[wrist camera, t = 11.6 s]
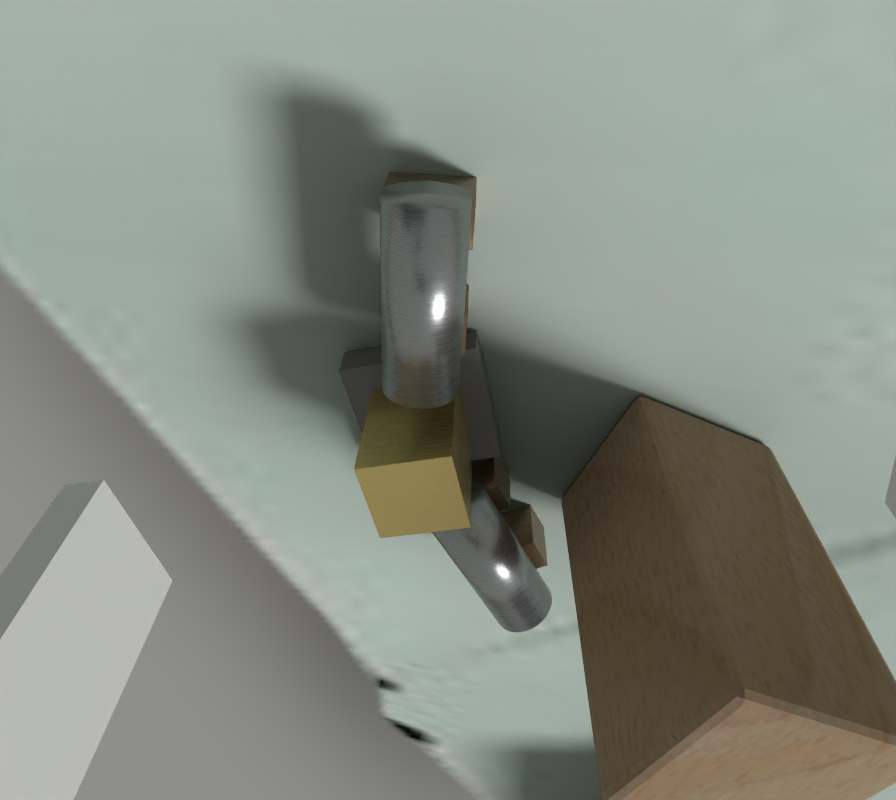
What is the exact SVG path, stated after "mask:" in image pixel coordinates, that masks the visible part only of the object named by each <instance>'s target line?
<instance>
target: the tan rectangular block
mask: <svg viewBox="0 0 896 800" xmlns="http://www.w3.org/2000/svg"><path fill="white" fill-rule="evenodd" d="M354 470H355V473H356V476H357V478H358V481H359V484H360V486H361V489H362V491H363V494H364V497H365V499H366V502H367V505H368V507H369V510H370V513H371V515H372V518H373V521H374V523H375V526H376V529H377V531H378V534H379V536H380V538H385V537H393V536H402V535H410V534H419V533H428V532H436V531H445V530H453V529H462V528H471V484H472V441H471V437H470V433H469V428H468V424H467V420H466V416H465V412H464V408H463V403H462V399H461V395H460V391H459V392H458V394H457V396H456V397H455V398H454V399H453V400H452V401H450V402H449V403H447V404H445V405H442V406H439V407H435V408H429V409H415V408H408V407H404V406H401V405H398V404H396V403H394V402H392V401H391V400H390V399H388V398H387V397H386V396H385V394H384V393H383V390H382V389H377V390H372V395H371V399H370V403H369V408H368V412H367V416H366V420H365V425H364V429H363V433H362V438H361V442H360V446H359V451H358V455H357V459H356V464H355V468H354Z"/></svg>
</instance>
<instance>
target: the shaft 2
mask: <svg viewBox="0 0 896 800" xmlns="http://www.w3.org/2000/svg"><path fill="white" fill-rule="evenodd" d="M508 507H511V503H510V482H509V469H508V467H507V466H506V464H505V462H504V461H503V459H502V457H501V456H500V457H494V458H487V459H480V460H473V461H472V484H471V528H462V529H453V530H445V531H436V532H432V533H433V534H434V536H435V537H436V538H437V540H438V541H439V542H440V544H441V545H442V547H443V548H444V549H445V551H446V552H447V553H448V555H449V556H450V557H451V559H452V560H453V561H454V563H455V564H456V566H457V567H458V568H459V570H460V571H461V572H462V574H463V575H464V576H465V578H466V579H467V581H468V582H469V583H470V585H471V586H472V587H473V589H474V590H475V591H476V593H477V594H478V595H479V597H480V598H481V600H482V601H483V602H484V604H485V605H486V606H487V608H488V609H489V610H490V612H491V613H492V614H493V616H494V617H495V619H496V620H497V621H498V623H499V624H500V625H501V626H502V627H503V628H504V629H506V630H508V631H511V632H523V631H527V630H530V629H532V628H534V627H535V626H537V625H538V624H539V623H540V622H542V621H543V619H544V618H545V617H546V616H547V614H548V612H549V610H550V607H551V603H552V596H551V592H550V590H549V588H548V587H547V585H546V584H545V582H544V581H543V579H542V578H541V576H540V574H539V573H538V571H537V570H536V569H537V568H540V567H543V566H547V556H546V546H545V536H544V527H543V525H542V524H541V522H540V520H539V519H538V517H537V515H536V514H535V512H534V510H533V509H532V507H531V505H529V506H526V507H523V508H520V509H517V510H514V511H511V512H508V513H505V514H502V515H501V514H500V512H499V510H502V509H505V508H508Z"/></svg>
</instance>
